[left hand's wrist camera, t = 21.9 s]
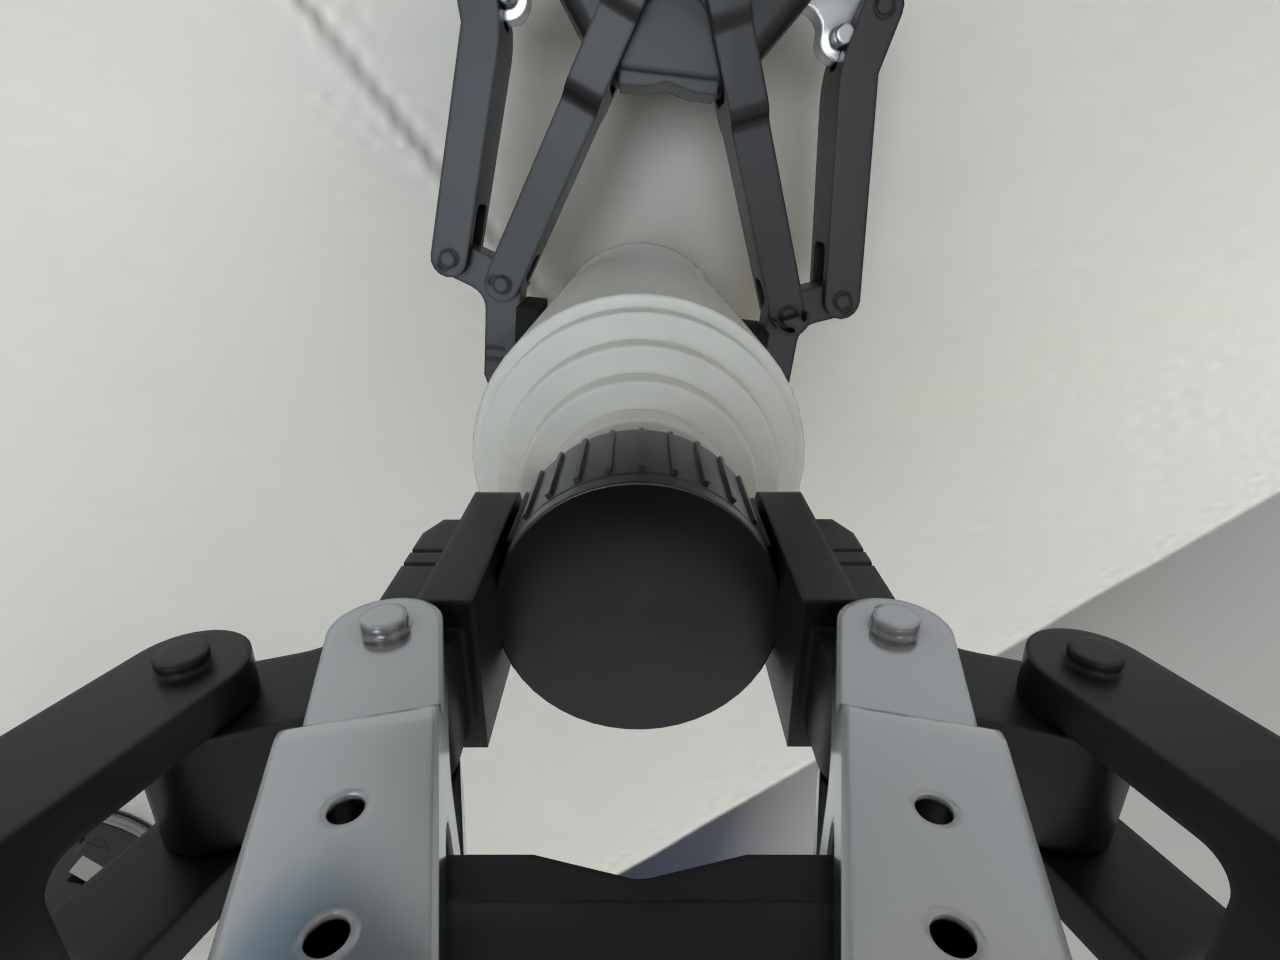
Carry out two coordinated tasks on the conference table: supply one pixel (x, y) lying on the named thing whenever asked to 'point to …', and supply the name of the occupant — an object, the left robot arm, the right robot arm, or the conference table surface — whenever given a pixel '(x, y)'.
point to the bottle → (638, 376)
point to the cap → (638, 582)
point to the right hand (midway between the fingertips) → (626, 478)
